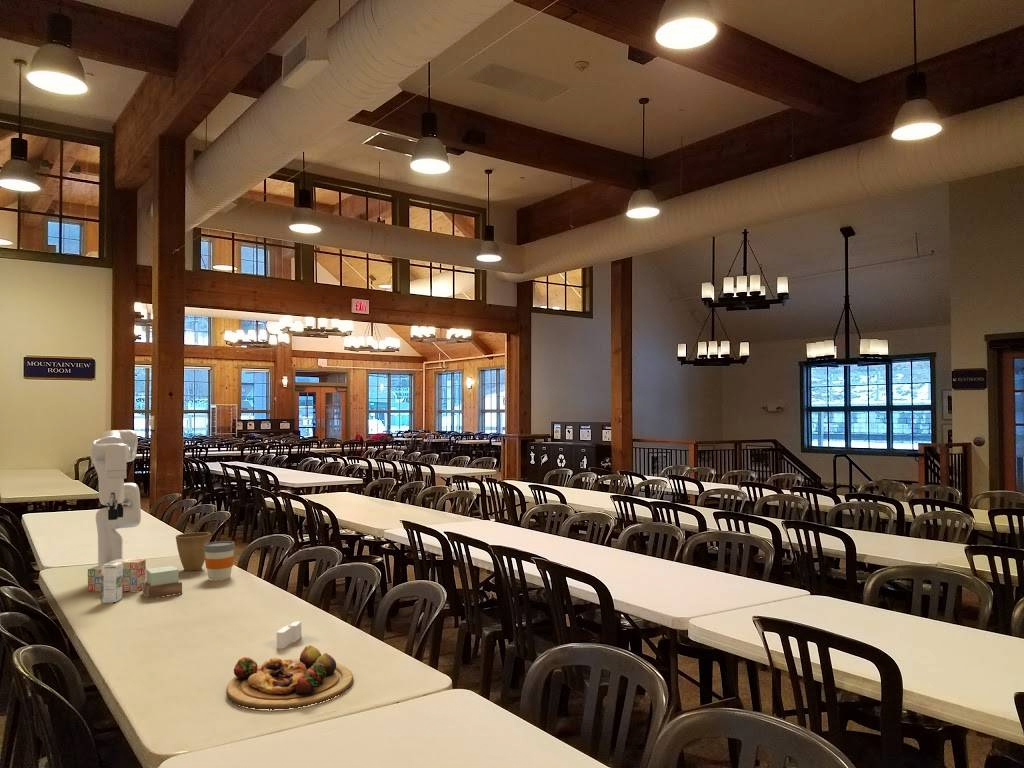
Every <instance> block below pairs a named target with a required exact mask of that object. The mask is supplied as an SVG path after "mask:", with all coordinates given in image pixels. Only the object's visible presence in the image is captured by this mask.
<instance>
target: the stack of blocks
mask: <svg viewBox="0 0 1024 768" xmlns="http://www.w3.org/2000/svg"><path fill="white" fill-rule="evenodd" d="M110 562H122V563H123V592H122V593H125V592H124V591H131V592H130V593H133V592H132V591H138V592H140V591H139V590H141V591H143V590H142V589H143V582H144V581H146V569H147V559H145V558H144V559H143V558H142V559H139V558H123V559H116V560H113V561H110ZM110 562H109V563H110ZM101 571H102V566H98V565H97V566H94V567H90V568H88V569H87V592H91V591H101Z"/></svg>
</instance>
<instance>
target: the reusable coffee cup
mask: <svg viewBox="0 0 1024 768" xmlns="http://www.w3.org/2000/svg"><path fill="white" fill-rule="evenodd" d="M235 545H236V544H235V542H234V541H232V540H231V541H230V540H224V541H221V540H220V541H211V542H209V543H207V544H205V547H204V552H205V561H204V564H205V568H206V571H207V577H208V578H209V579H211V580H210V581H213V580H218V581H222V580H221V579H225V580H228V579H227V578H229V579H231V577H232V568H233V566H234V561H235V559H234V558H235V555H234V553H235V552H234V551H235V549H236V547H235ZM209 579H208V580H209Z"/></svg>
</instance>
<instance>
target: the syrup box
mask: <svg viewBox="0 0 1024 768" xmlns="http://www.w3.org/2000/svg"><path fill="white" fill-rule="evenodd" d="M123 593H124V592H123V563H122V562H110V563H107V564H105V565H102V571H101V592H100V604H113V602H116V603H118V602H119V601H121V600H122V599H123Z"/></svg>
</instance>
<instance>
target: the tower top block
mask: <svg viewBox="0 0 1024 768" xmlns="http://www.w3.org/2000/svg"><path fill="white" fill-rule="evenodd" d="M179 575H180V573H179V568H177V567H176V566H174V565H168V566H160V567H154V568H152V567H151V568H146V579H145V581H146V582H147V583H148V584H149V585H151V586H156V585H163V584H170V583H176V582H179V581H180V580H179V578H180V577H179Z"/></svg>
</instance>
